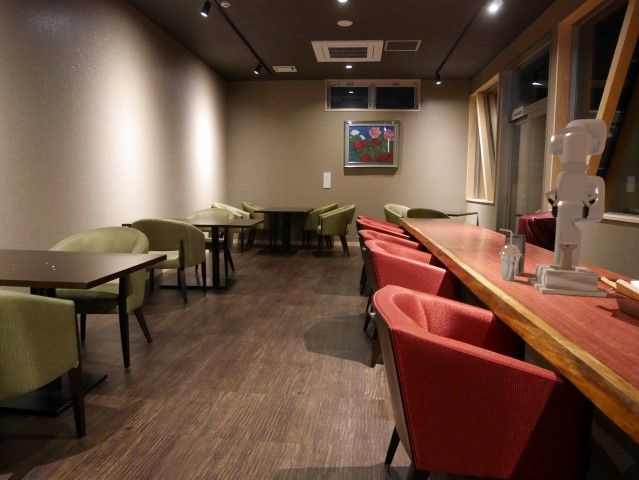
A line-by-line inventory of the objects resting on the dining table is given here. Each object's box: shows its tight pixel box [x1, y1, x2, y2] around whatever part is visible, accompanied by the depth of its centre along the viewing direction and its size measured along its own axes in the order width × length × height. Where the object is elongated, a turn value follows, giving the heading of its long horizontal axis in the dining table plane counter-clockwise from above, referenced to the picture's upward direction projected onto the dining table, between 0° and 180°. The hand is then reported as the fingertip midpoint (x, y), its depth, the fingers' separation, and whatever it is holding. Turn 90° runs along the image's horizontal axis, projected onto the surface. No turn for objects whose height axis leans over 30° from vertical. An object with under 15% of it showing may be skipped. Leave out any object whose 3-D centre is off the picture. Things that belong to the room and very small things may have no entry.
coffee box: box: [504, 233, 527, 276], centre depth 202 cm, size 9×6×16 cm
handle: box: [557, 242, 577, 271], centre depth 173 cm, size 5×6×15 cm
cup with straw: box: [498, 228, 522, 282], centre depth 188 cm, size 8×9×20 cm
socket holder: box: [527, 263, 607, 298], centre depth 173 cm, size 22×20×7 cm
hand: (569, 217), depth 171 cm, fingers open, 9 cm apart
